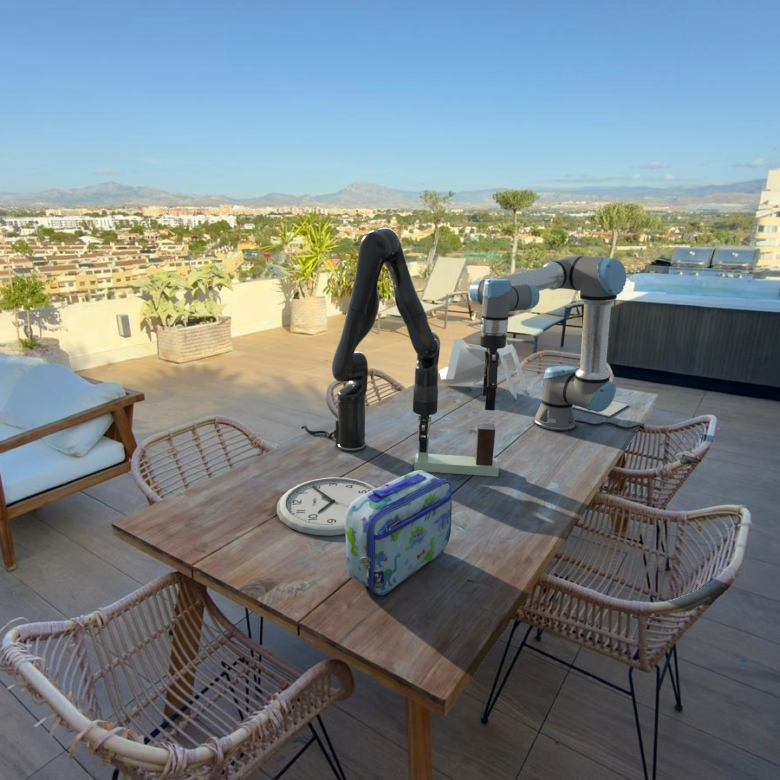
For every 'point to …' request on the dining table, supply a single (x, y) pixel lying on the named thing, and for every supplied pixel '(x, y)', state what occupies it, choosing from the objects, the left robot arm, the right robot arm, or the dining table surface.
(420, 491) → the lunch box
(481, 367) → the white plastic object
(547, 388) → the right robot arm
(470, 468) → the pale green l-shaped block
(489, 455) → the walnut block
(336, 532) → the wall clock
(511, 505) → the dining table surface
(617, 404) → the invitation card
